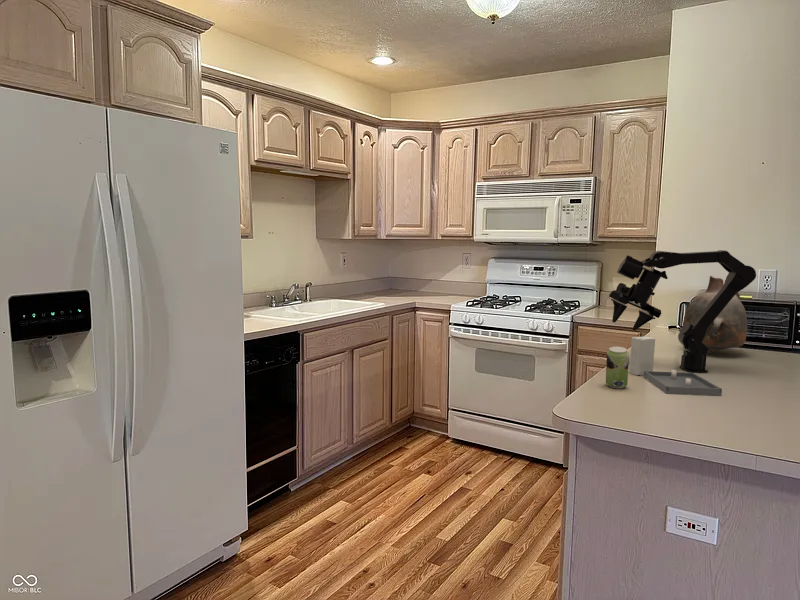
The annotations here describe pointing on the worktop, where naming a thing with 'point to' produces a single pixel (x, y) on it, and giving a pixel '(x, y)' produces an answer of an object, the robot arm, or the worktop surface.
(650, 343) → the skincare box
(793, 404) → the worktop surface
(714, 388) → the tray
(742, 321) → the jug
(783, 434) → the worktop surface
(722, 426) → the worktop surface
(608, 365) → the beverage can
